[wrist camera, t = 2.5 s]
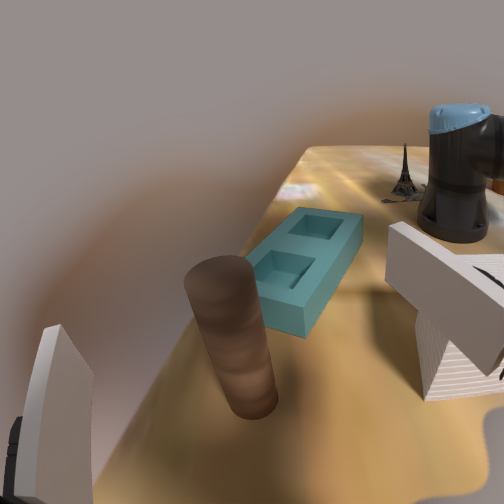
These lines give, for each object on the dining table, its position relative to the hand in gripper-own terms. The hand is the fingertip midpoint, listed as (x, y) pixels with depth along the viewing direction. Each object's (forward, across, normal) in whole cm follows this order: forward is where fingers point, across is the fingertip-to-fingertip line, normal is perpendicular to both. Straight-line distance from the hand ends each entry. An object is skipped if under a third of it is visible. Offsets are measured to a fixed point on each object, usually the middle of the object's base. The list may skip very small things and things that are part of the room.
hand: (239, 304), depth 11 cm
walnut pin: (+10, 0, -21) cm, 23 cm away
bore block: (+28, +14, -21) cm, 38 cm away
